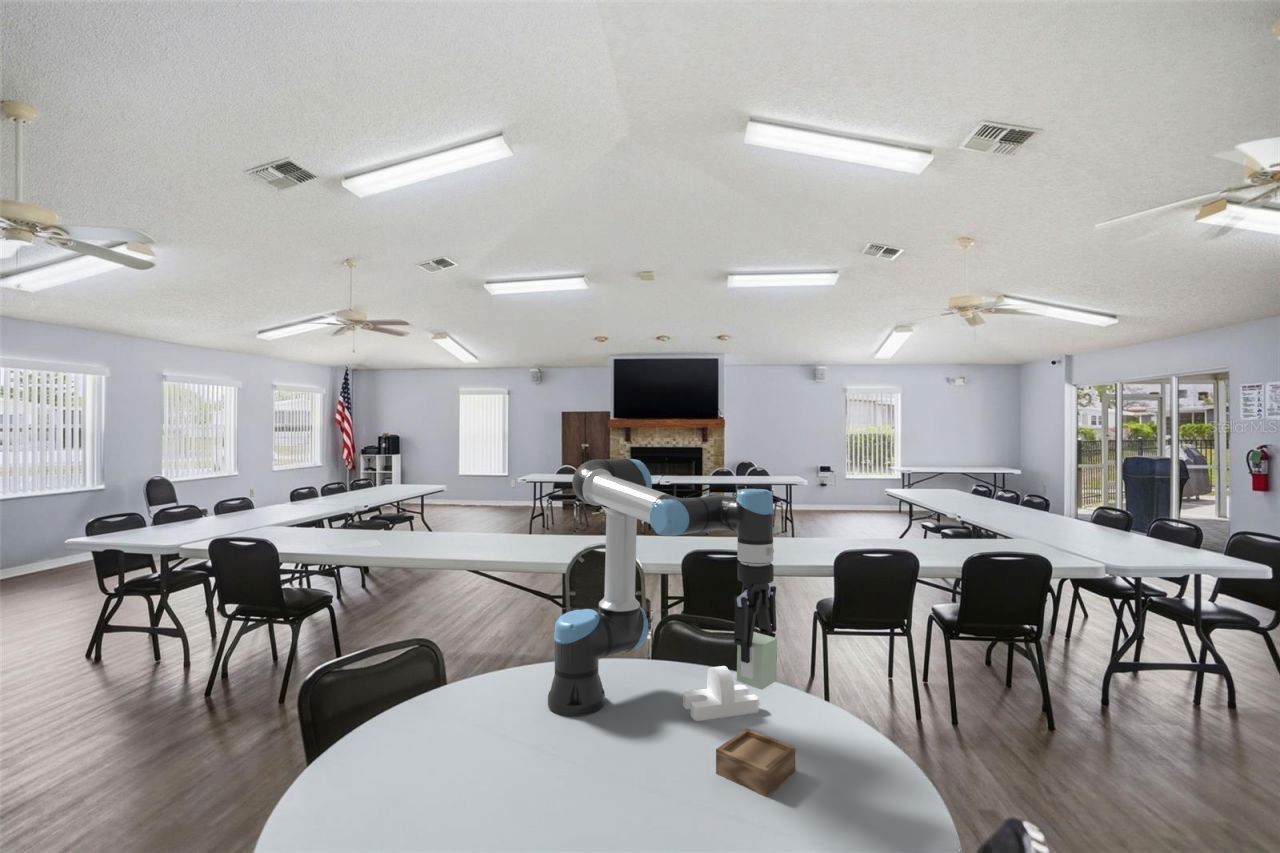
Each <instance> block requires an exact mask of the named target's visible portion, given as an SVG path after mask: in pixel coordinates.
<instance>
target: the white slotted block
mask: <svg viewBox="0 0 1280 853" xmlns="http://www.w3.org/2000/svg"><path fill="white" fill-rule="evenodd" d="M682 707H683V708H684V709H685V710H686V709H687V710H690V717H691V718H692V720H694V721H696V722H701V721H709V720H715V719H721V718H728V717H730V718H731V717H735V716H742V715H751V714H756V713H759V696H757V694H754V693H752V694H749V688H748V686H747V685H746V684H734V679H733V676H732V674H731V671H730V669H728V666H726V665H721V666H720V665H718V666H711V667H709V668H708V670H707V674H706V688H703V689H695V690H686V691H683V692H682Z"/></svg>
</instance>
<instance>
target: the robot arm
mask: <svg viewBox="0 0 1280 853" xmlns="http://www.w3.org/2000/svg"><path fill="white" fill-rule="evenodd" d="M571 481H572V483H571V484H572V489H573V492H574V493H575V495H576V497H577V498H578V499H579V500H581V501H582V502H584V503H586V504H587V505H588V504H589V505H590V506H597V507H598V506H599V507H600V506H601V507H600V508H602V510H604V512H605V513H606V518H605V519H606V520H605V522H606V525H605V556H604V557H605V560H604V561H605V562H604V565H605V566H604V597H603V598H602V599H601V600H600V601H599V603H598V612H597V611H596V610H594V609H591V608H590V609H589V608H584V609H574V610H570V611H568V612H565V613H563V614H562V615H560V616H559V617H558V618H557V620H556V622H555V624H554V626H555V627H554V633H553V634H554V635H553V639H554V676H553V679H552V683H551V686H550V690H549V692H548V694H547V708H548V709H549V710H550V711H551V712H553V713H555V714H557V715H561V716H567V717H568V716H569V717H581V716H586V715H591V714H594V713H596V712H597V711H599V710H601V709H603V707H604V706H605V704H606V692H605V690H604V688H603V684H602V680H601V676H600V674H599V660H600V659H604V658H607V657H610V656H611V657H612V656H615V655H619V654H623V653H630V652H632V651H633V650H635V649H638V648H640V647H641V646H642V645H644V643H645V641H646V639H647V637H648V633H649V621H648V618H647V614H646V612H645V610H644V609H643V608H642V607H641V602H640V601H638V600H637V598H636V574H637V573H636V572H637V569H636V566H637V565H636V563H637V532H638V531H637V528H638V527H637V526H638V523H637V522H638V520H640V521H641V522H645V523H648V524H650V526H651V528H652V529H653V530H654V531H655V533H656V534H657V535H659V536H664V537H676V536H681V535H687V534H688V535H689V534H693V533H694V534H695V533H701V532H710V531H718V530H723V531H724V530H725V531H732V532H737V533H736V534H737V545H736V546H737V548H736V549H737V551H736V553H737V555H736V556H737V558H736V560H737V561H739V562H738V563H737V580H738V581H739V582H741V583H742V588H741V594H740V595H734V596H733V604H734V628H733V631H734V632H733V634H734V635H733V643H734V645H740V646H741V676H744V677H747V678H750V679H754V646H752V640H753V633H754V632H755V625H756V620H757V624H758V630H759V633H760V634H764V635H767V636H771V637H774V638H776V635H777V634H776V633H775V632H777V609H776V608H777V607H776V605H777V604H776V595H777V587H776V586H775V585H770V584H771V583H773V582H774V579H775V578H774V575H775V574H774V572H775V571H774V568H775V566H774V565H773V563H772V562H773V561H774V553H775V549H774V537H773V536H774V513H775V509H774V500H773V493H772V492H771V491H770V490H768V489H764V488H762V489H761V488H758V489H757V488H743V489H742V488H741V489H739V490H738V491H737V495H736V496H729V495H728V496H727V495H719V494H716V493H713V494H704V495H701V496H699V497H686V498H685V497H684V498H682V497H677V496H674V495H671V494H668V493H665V492H662V491H659V490H656V489H653V485H652V484H653V483H652V481H653V480H652V476H651V472H650V471H649V468H647V466H646V464H644V462H642V461H641V460H639V459H634V458H610V459H609V458H608V459H592V460H588V461H585V462H584V463H582V464H581V465H579V466H578V468H577V469H576V470H575V471H574V474H573V476H572V480H571Z"/></svg>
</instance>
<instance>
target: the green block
mask: <svg viewBox="0 0 1280 853" xmlns="http://www.w3.org/2000/svg"><path fill="white" fill-rule="evenodd" d="M736 645H737V644H736ZM752 646H754V679H750V678H747V677H744V676H741V646H740V645H737V646H736V648H737V652H736V682H738V683H742V684H743V685H746V686H750V687H752V688H756V689H758V690H760V691H761V690H764V689H766V688H768V687H770V685H772V684H774V683H775V682H777V668H778V667H777V665H778V662H777V660H778V657H777V656H778V647H777V646H778V637H775V638H774V637H771V636H767V635H764V634H760V632H756V631H754V633H753V640H752Z"/></svg>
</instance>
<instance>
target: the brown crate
mask: <svg viewBox="0 0 1280 853" xmlns="http://www.w3.org/2000/svg"><path fill="white" fill-rule="evenodd" d="M795 772H796V747H795V746H793V745H792V744H791V745H790V744H788V743H786V742H783V741H782V740H781V741H780V740H778V739H775V738H772V737H771V736H768V735H765V734H762V733H760V732H757V731H754V730H753V729H749V728H745V729H743V730H742V731H740V732H739V733H738V734H737V733H736V734H735V735H734V736H733V737H731V738H730V739H729V740H727V741H726V742H724V743H723V744H721V745H720V746H718V747H717V748H715V774H716V775H718V776H720V777H722V778H726V779H728V780H729V781H731V782H734V783H736V784H738V785H741V786H743V787H744V788H747V789H748V790H751V791H753V792H755V793H757V794H759V795H762V796H764V797H766V798H767V797H769V796H770V795H771V794H772V793H773V792H774V791H775V790H776V789H778V788H779V787H780V786H781V785H782V784H783V783H784V782H785V781H786V780H787V779H788V778H789V777H790V776H792V775H793V774H794V773H795Z"/></svg>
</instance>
